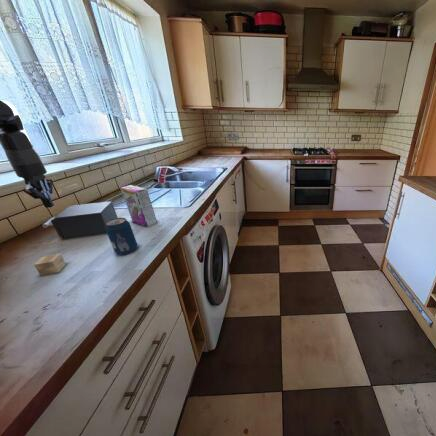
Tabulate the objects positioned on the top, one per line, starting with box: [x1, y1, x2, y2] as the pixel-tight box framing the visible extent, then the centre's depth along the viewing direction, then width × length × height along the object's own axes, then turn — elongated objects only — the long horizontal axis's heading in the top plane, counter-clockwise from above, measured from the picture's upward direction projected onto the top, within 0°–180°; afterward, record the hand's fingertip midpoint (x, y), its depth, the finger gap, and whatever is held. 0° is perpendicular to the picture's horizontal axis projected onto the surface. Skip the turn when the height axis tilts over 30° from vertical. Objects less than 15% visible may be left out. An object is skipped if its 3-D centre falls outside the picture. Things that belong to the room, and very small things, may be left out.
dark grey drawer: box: [41, 208, 67, 239], centre depth 93 cm, size 18×11×8 cm, turn 109°
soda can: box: [105, 217, 138, 256], centre depth 79 cm, size 7×7×12 cm
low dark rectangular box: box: [54, 200, 119, 240], centre depth 94 cm, size 15×13×10 cm
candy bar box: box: [120, 184, 158, 227], centre depth 98 cm, size 11×5×16 cm, turn 63°
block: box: [33, 253, 67, 277], centre depth 71 cm, size 4×4×4 cm
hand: (49, 206), depth 88 cm, fingers closed
